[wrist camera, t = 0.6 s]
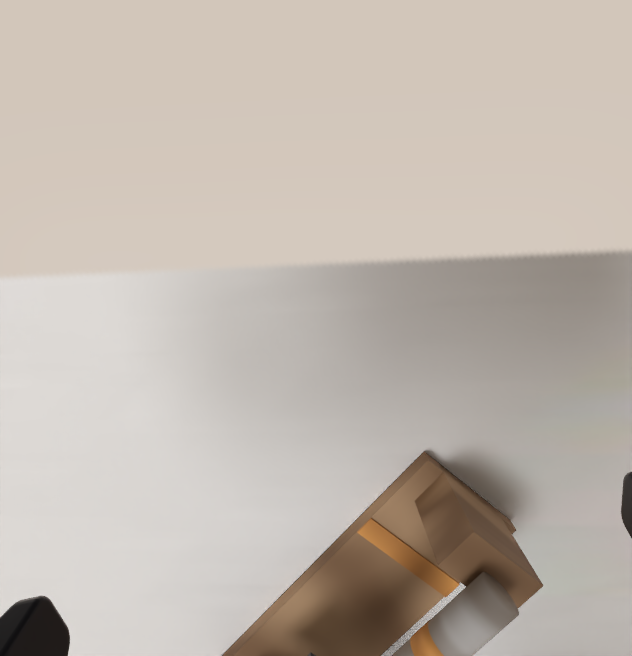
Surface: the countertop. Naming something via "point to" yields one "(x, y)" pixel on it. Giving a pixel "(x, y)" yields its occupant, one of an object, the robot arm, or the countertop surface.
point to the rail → (404, 578)
